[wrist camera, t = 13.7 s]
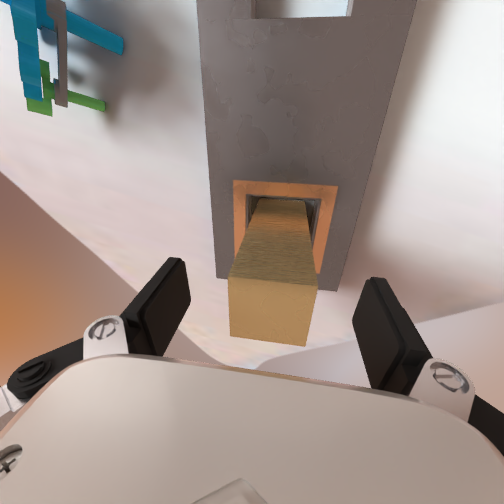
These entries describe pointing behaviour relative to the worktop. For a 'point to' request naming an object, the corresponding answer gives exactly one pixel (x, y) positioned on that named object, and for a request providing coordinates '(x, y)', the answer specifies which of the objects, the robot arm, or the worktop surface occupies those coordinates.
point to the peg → (274, 276)
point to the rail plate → (296, 115)
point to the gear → (32, 68)
